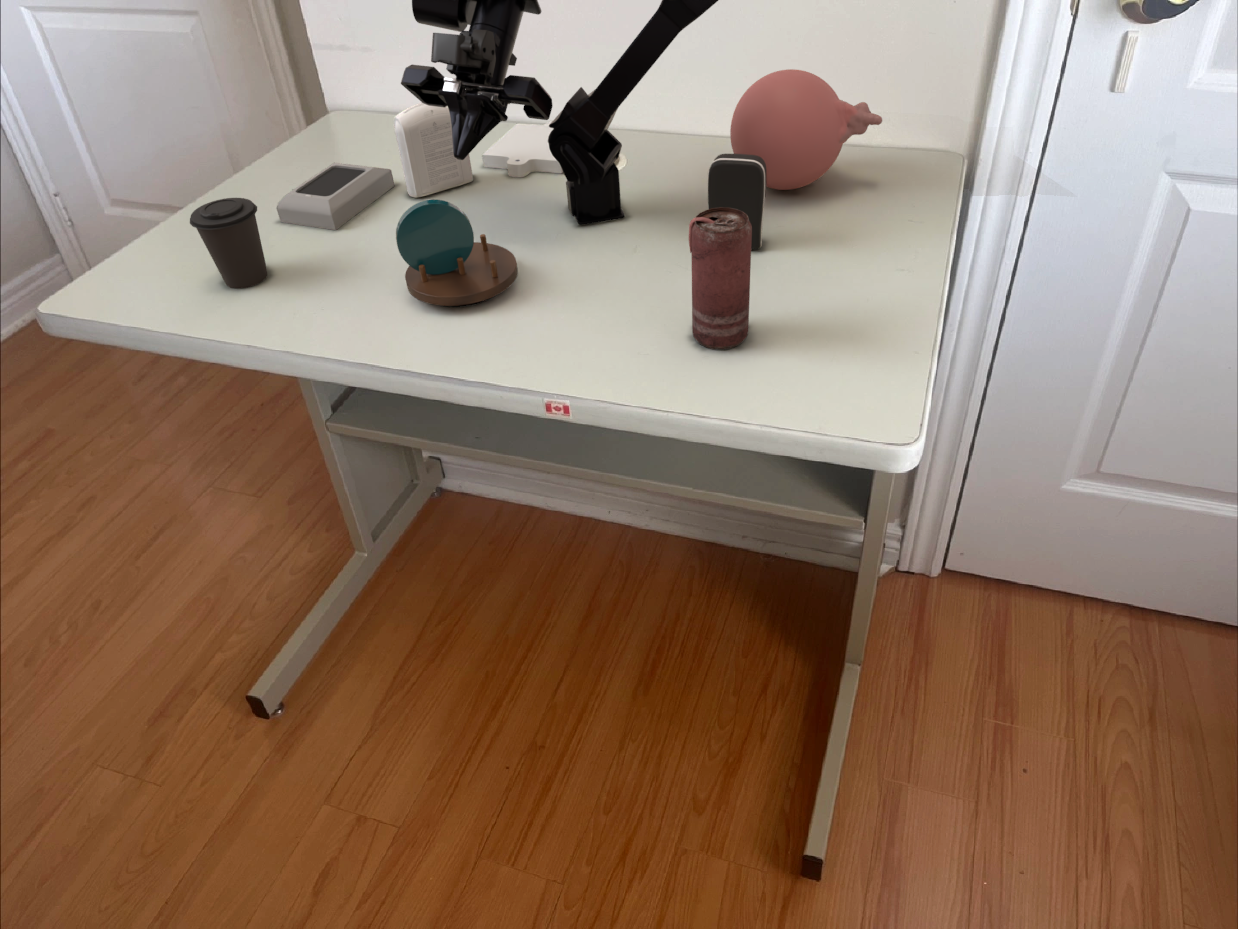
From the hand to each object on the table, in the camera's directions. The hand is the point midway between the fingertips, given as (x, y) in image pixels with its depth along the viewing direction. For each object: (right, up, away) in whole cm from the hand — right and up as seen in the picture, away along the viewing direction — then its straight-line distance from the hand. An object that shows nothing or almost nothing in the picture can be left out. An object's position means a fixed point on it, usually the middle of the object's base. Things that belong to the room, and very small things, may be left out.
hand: (458, 158), depth 114 cm
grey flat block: (-21, +1, +22) cm, 31 cm away
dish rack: (+1, -15, 0) cm, 15 cm away
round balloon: (+45, +2, +17) cm, 48 cm away
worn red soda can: (+31, -24, -11) cm, 40 cm away
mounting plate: (+7, +11, +32) cm, 34 cm away
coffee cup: (-28, -14, +6) cm, 32 cm away
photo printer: (-7, +4, +24) cm, 25 cm away
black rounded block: (+35, -9, +5) cm, 36 cm away
